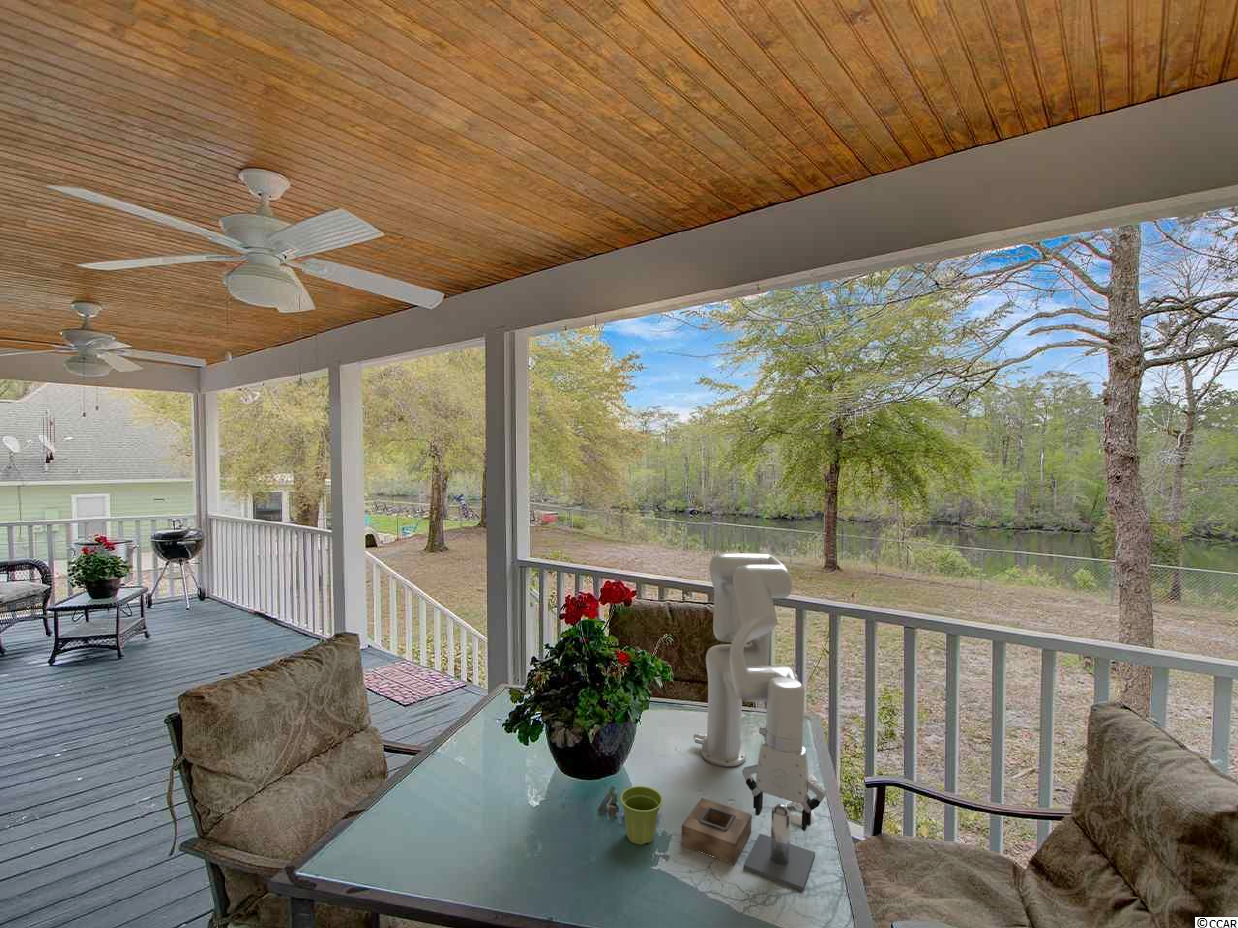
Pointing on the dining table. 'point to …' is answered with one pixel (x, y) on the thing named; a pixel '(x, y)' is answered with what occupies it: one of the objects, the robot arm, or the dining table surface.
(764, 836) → the mat
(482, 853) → the dining table surface
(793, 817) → the white ring with handle
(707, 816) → the block
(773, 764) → the robot arm
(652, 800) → the plant pot
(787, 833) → the steel peg
